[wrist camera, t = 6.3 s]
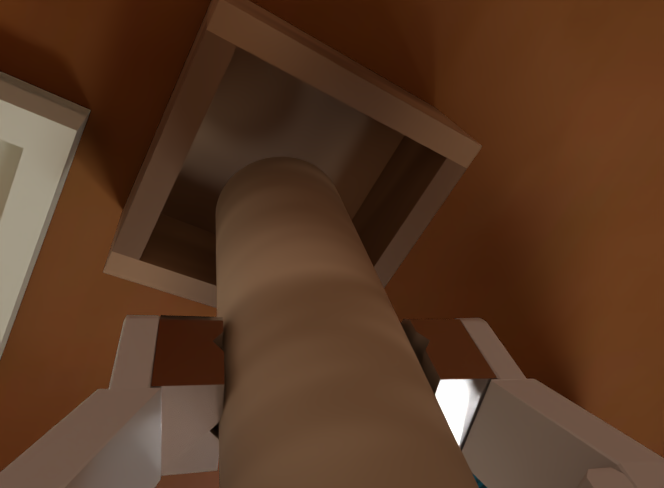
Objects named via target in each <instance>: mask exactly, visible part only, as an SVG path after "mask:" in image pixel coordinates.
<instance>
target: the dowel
mask: <svg viewBox="0 0 664 488" xmlns="http://www.w3.org/2000/svg"><path fill="white" fill-rule="evenodd" d="M215 217H216V283H217V317H223V345H222V350H223V351H224V382H225V385H224V399H223V413H222V417H221V420H220V421H219V484H220V488H479V486H478V484H477V482H476V480H475V478H474V476H473V474H472V472H471V470H470V468H469V466H468V463H467V461H466V459H465V457H464V455H463V453H462V451H461V449H460V447H459V445H458V443H457V440H456V438H455V436H454V434H453V432H452V430H451V428H450V426H449V424H448V422H447V419H446V417H445V415H444V413H443V411H442V409H441V407H440V405H439V403H438V401H437V399H436V396H435V394H434V392H433V390H432V388H431V386H430V384H429V382H428V380H427V378H426V375H425V373H424V371H423V369H422V367H421V365H420V363H419V361H418V359H417V357H416V355H415V352H414V350H413V348H412V346H411V344H410V342H409V340H408V338H407V336H406V334H405V332H404V329H403V327H402V325H401V323H400V321H399V319H398V317H397V315H396V313H395V311H394V308H393V306H392V304H391V302H390V300H389V298H388V296H387V294H386V292H385V290H384V288H383V285H382V283H381V281H380V279H379V277H378V275H377V273H376V271H375V269H374V267H373V264H372V262H371V260H370V258H369V256H368V254H367V252H366V250H365V248H364V246H363V244H362V241H361V239H360V237H359V235H358V233H357V231H356V229H355V227H354V225H353V223H352V220H351V218H350V216H349V214H348V212H347V210H346V208H345V206H344V204H343V202H342V200H341V197H340V195H339V193H338V191H337V189H336V187H335V185H334V184H333V182H332V181H331V179H330V178H329V177H328V176H327V175H326V174H325V173H324V172H323V171H322V170H321V169H319V168H318V167H316V166H315V165H313V164H311V163H309V162H307V161H304V160H301V159H297V158H293V157H270V158H265V159H261V160H258V161H255V162H253V163H251V164H249V165H247V166H245V167H243V168H242V169H241V170H239V171H238V172H237V173H235V174H234V175H233V176H232V177H231V178H230V179H229V181H228V182H227V183H226V185H225V186H224V188H223V189H222V191H221V193H220V196H219V198H218V201H217V206H216V214H215Z"/></svg>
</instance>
